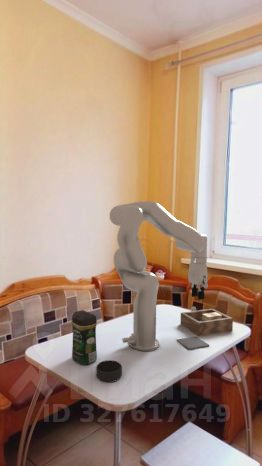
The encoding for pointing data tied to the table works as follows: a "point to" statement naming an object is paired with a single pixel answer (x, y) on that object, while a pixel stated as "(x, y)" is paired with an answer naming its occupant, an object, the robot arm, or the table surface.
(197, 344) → the rubber mat
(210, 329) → the block
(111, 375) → the black round bowl
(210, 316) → the tan rectangular block
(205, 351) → the table surface
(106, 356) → the table surface
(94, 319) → the coffee jar
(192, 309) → the pacifier
